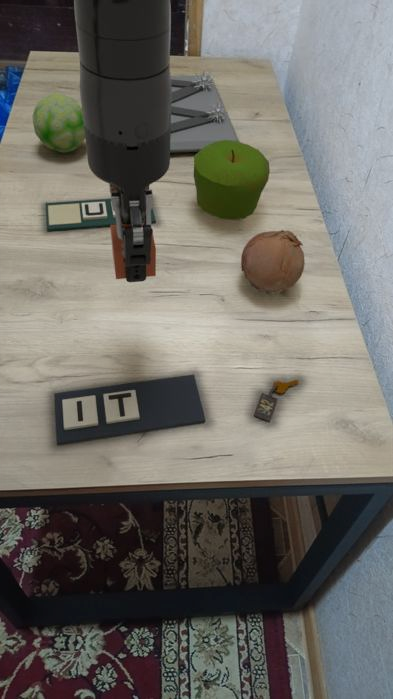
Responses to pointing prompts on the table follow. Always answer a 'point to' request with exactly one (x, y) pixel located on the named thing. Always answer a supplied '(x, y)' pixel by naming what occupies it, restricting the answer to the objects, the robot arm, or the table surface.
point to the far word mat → (82, 214)
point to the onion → (273, 261)
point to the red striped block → (118, 258)
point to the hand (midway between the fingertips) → (133, 263)
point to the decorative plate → (197, 114)
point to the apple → (229, 179)
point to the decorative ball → (59, 122)
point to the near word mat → (127, 409)
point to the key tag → (271, 400)
